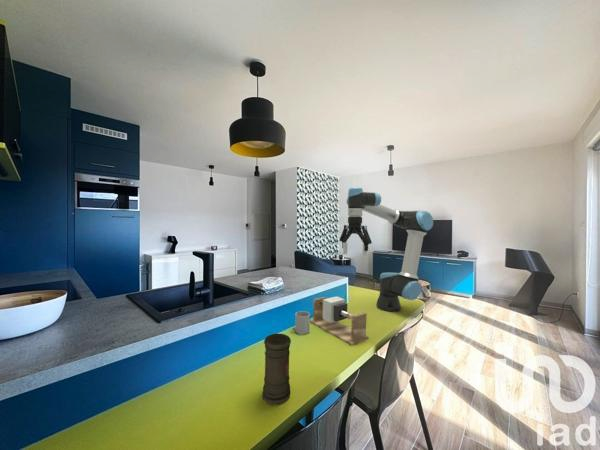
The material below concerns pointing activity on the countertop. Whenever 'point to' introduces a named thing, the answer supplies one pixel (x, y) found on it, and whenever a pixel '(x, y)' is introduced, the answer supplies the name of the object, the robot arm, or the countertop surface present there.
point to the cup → (302, 322)
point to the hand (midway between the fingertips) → (354, 255)
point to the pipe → (342, 312)
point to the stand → (340, 325)
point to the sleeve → (330, 307)
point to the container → (276, 369)
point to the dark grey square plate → (336, 311)
